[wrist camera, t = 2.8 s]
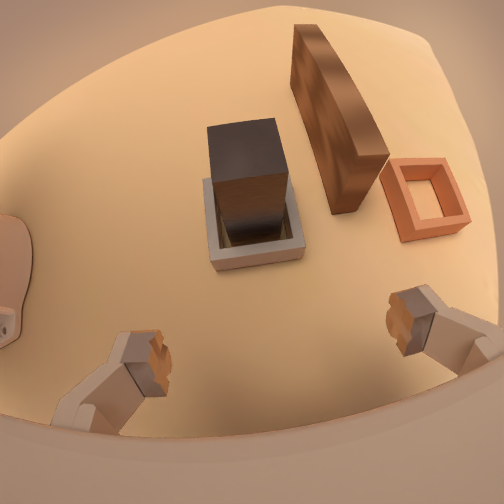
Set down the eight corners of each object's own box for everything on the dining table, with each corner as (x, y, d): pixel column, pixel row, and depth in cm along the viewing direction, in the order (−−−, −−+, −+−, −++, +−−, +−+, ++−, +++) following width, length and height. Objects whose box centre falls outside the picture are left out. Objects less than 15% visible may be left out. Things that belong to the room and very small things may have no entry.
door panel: (371, 209, 26) (409, 153, 18) (331, 214, 26) (358, 155, 18) (321, 83, 32) (330, 25, 23) (290, 84, 32) (294, 24, 23)
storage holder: (301, 258, 25) (305, 246, 22) (216, 271, 25) (209, 260, 22) (285, 184, 27) (287, 166, 24) (208, 196, 27) (202, 179, 24)
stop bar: (279, 243, 25) (288, 172, 15) (232, 250, 25) (211, 182, 15) (271, 202, 27) (274, 117, 16) (227, 208, 27) (206, 127, 16)
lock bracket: (456, 232, 25) (471, 221, 22) (401, 242, 25) (415, 230, 22) (432, 172, 27) (444, 157, 24) (379, 175, 27) (389, 158, 24)
